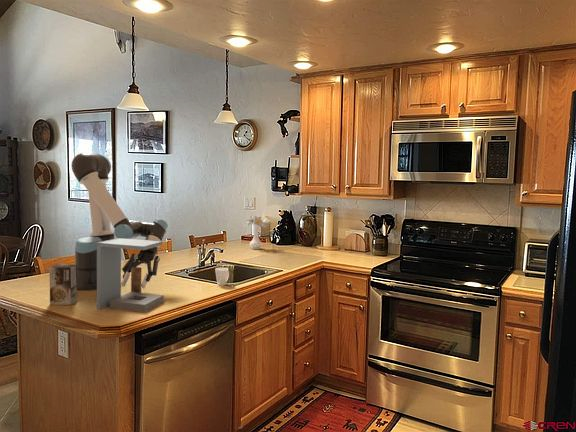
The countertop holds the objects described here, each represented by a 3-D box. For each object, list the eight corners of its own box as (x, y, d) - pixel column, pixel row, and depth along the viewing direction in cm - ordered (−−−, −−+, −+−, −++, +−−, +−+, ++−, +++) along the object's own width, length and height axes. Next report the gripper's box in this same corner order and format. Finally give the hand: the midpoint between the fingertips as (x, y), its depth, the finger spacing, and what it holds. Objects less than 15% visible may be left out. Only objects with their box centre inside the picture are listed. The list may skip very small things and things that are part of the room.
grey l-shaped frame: (96, 308, 194) (97, 242, 192) (117, 299, 209) (118, 238, 206) (143, 314, 190) (144, 246, 187) (161, 304, 204) (162, 241, 202)
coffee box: (77, 301, 204) (77, 264, 203) (71, 305, 198) (71, 267, 197) (56, 300, 204) (55, 263, 203) (49, 304, 198) (48, 266, 196)
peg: (129, 294, 218) (129, 268, 217) (134, 292, 223) (134, 267, 222) (138, 295, 217) (138, 269, 216) (143, 292, 222) (143, 267, 221)
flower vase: (269, 248, 367) (270, 216, 365) (255, 250, 352) (256, 217, 350) (256, 246, 374) (257, 214, 372) (241, 248, 359) (242, 216, 357)
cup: (211, 284, 244) (212, 269, 243) (222, 280, 253) (223, 266, 252) (223, 286, 241) (223, 270, 240) (233, 282, 250) (234, 267, 249)
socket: (109, 307, 196) (109, 300, 196) (130, 298, 212) (130, 291, 212) (144, 311, 193) (144, 304, 193) (163, 301, 208) (163, 295, 208)
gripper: (173, 253, 231) (157, 292, 217) (133, 249, 236) (114, 288, 222) (168, 243, 225) (151, 283, 211) (127, 240, 230) (107, 279, 216)
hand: (132, 286), depth 217 cm, fingers open, 9 cm apart
